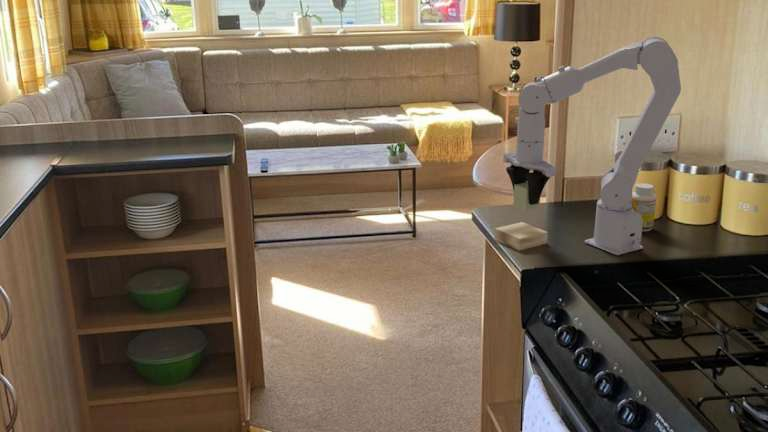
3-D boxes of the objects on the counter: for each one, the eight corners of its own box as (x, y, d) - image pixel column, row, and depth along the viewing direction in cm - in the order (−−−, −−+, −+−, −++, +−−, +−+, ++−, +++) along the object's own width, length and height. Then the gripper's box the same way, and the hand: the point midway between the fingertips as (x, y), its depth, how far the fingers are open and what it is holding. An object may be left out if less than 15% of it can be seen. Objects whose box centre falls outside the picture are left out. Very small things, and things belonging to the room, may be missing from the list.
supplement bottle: (628, 223, 184) (632, 181, 181) (653, 226, 182) (658, 183, 179) (626, 230, 179) (631, 187, 176) (652, 233, 177) (657, 190, 174)
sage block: (539, 208, 172) (540, 186, 170) (525, 211, 170) (526, 189, 168) (527, 203, 175) (528, 181, 174) (513, 206, 173) (514, 184, 172)
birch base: (546, 245, 171) (547, 232, 171) (518, 252, 167) (519, 239, 166) (521, 234, 178) (522, 221, 177) (494, 241, 174) (494, 228, 173)
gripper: (493, 135, 172) (491, 195, 176) (539, 149, 160) (535, 212, 164) (518, 132, 175) (515, 190, 180) (565, 145, 164) (560, 207, 168)
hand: (526, 201), depth 172 cm, fingers closed on sage block, 4 cm apart
